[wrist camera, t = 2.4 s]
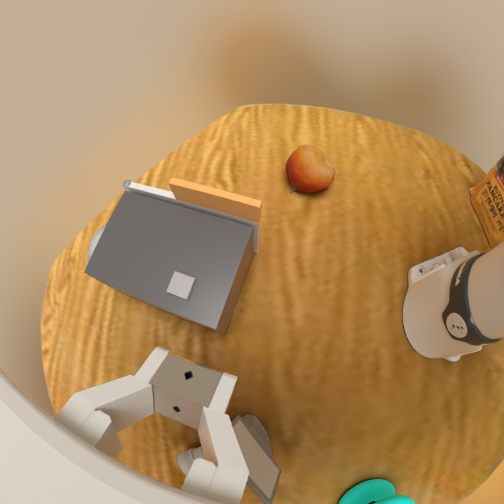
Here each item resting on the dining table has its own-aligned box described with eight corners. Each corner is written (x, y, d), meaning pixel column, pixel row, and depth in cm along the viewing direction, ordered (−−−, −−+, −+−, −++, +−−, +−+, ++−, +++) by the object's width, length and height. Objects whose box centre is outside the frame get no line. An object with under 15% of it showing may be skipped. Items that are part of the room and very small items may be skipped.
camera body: (252, 257, 41) (253, 224, 30) (225, 334, 37) (214, 328, 26) (136, 219, 43) (109, 184, 33) (106, 285, 39) (68, 263, 29)
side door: (259, 247, 41) (262, 199, 28) (256, 255, 40) (258, 209, 28) (148, 213, 43) (116, 163, 30) (145, 219, 42) (111, 171, 30)
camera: (174, 435, 31) (134, 473, 17) (244, 399, 33) (239, 428, 19) (208, 479, 29) (187, 533, 15) (278, 445, 31) (292, 493, 17)
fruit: (268, 162, 45) (296, 132, 39) (302, 171, 49) (330, 145, 43) (280, 202, 42) (313, 172, 36) (316, 208, 47) (348, 183, 40)
